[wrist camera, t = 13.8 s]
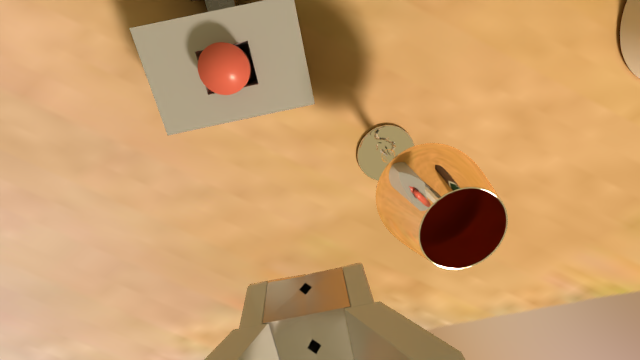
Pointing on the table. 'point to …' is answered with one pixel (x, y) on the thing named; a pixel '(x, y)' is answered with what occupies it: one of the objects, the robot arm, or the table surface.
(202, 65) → the plunger
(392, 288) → the table surface
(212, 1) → the rail
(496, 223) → the wineglass
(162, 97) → the grey holed block
